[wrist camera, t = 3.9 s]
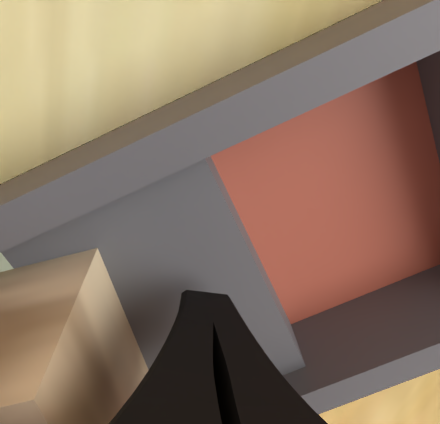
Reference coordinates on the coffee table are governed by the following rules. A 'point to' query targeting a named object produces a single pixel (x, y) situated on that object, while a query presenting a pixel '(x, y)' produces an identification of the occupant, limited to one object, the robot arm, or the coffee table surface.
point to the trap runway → (273, 205)
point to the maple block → (65, 344)
